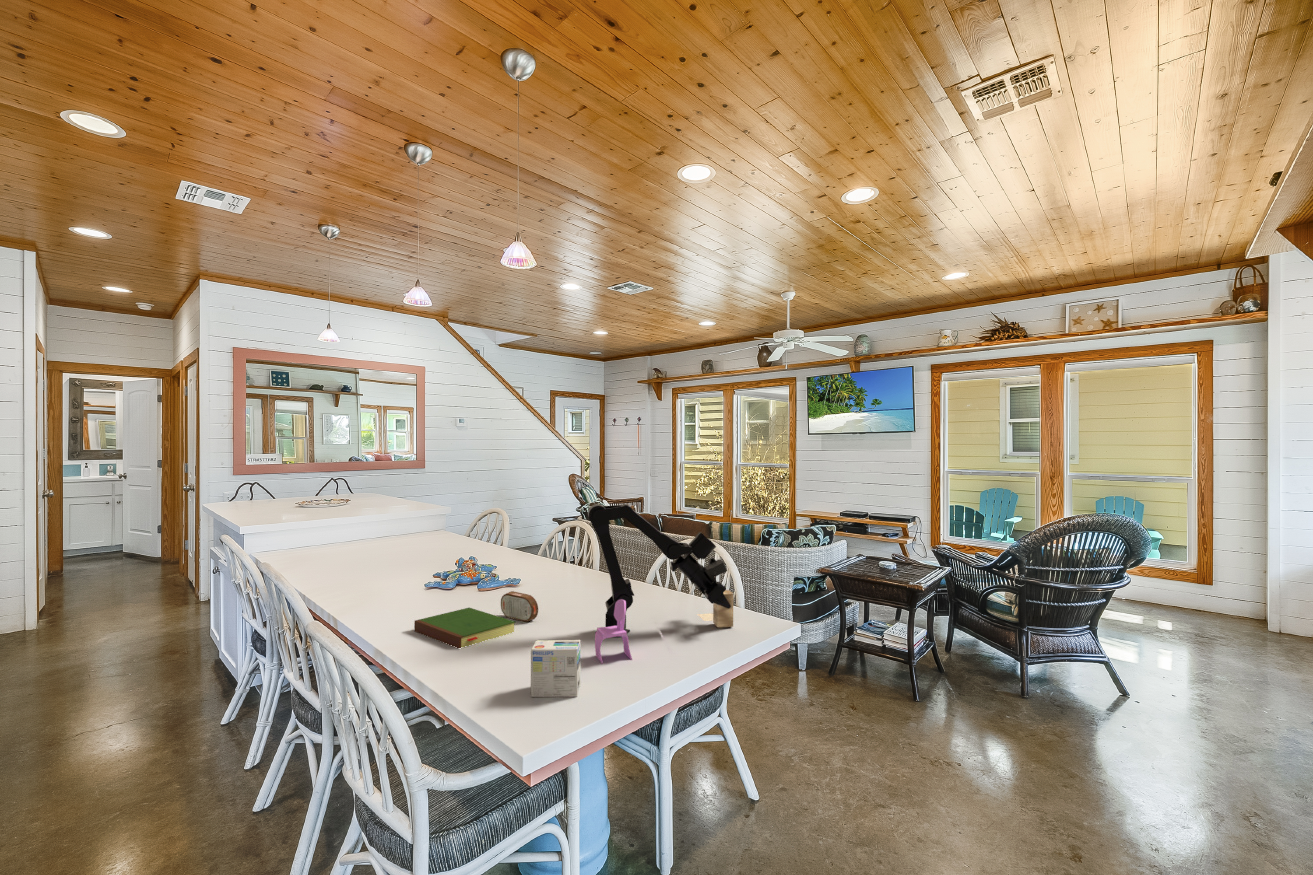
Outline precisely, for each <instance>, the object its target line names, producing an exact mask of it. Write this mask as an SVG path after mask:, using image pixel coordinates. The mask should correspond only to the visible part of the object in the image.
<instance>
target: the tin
mask: <svg viewBox="0 0 1313 875" xmlns="http://www.w3.org/2000/svg"><path fill="white" fill-rule="evenodd" d="M500 610H501V612H502V614H503V615H504V616H505V617H506V618H509V619H511V618H512V619H511V620H517V621H520V622H524V623H529V622H530V621H533V620H535V619H536V618H537V617H538V614H539V604H538V602H537V600H536V598H534V596H532V595H531V594H526V593H523V592H518V591H514V590H510V591H508V592H506V593H504V594H503V595H502V596H501V598H500Z"/></svg>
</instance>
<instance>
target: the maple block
mask: <svg viewBox="0 0 1313 875" xmlns="http://www.w3.org/2000/svg"><path fill="white" fill-rule="evenodd" d="M723 594H724V595H725V597H726V599H727V600H728V602H729V604H730V605H731V607H730V608H729V609H728V608H725V607H723V606H720V605H718V604H715V603H712V605H713V607H712V610H713V611H712V613H713V620H712V622H713V624H714V625H715V626H716V627H717V628H719V627H725V628H732V627H734V593H733V592H732V591H731V590H730V589H726V590H725V591H724V592H723Z"/></svg>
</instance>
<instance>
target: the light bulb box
mask: <svg viewBox="0 0 1313 875" xmlns="http://www.w3.org/2000/svg"><path fill="white" fill-rule="evenodd" d="M580 688H581V639H563V640H562V639H558V640H556V639H555V640H539V639H538V640H535V642H534V644H533V646H532V648H531V650H530V698H550V697H551V698H556V697H557V698H558V697H559V698H561V697H564V698H566V697H567V698H568V697H571V698H572V697H578V695H579V691H580Z"/></svg>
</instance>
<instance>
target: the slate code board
mask: <svg viewBox="0 0 1313 875" xmlns="http://www.w3.org/2000/svg"><path fill="white" fill-rule="evenodd" d="M696 615H697V616H698V617H699V618H700V619H702V620H703V621H704V622H710V621H711V622H713V612H712V613H700V614H698V613H697V614H696ZM718 628H719V629H723V628H726V627H718Z"/></svg>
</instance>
